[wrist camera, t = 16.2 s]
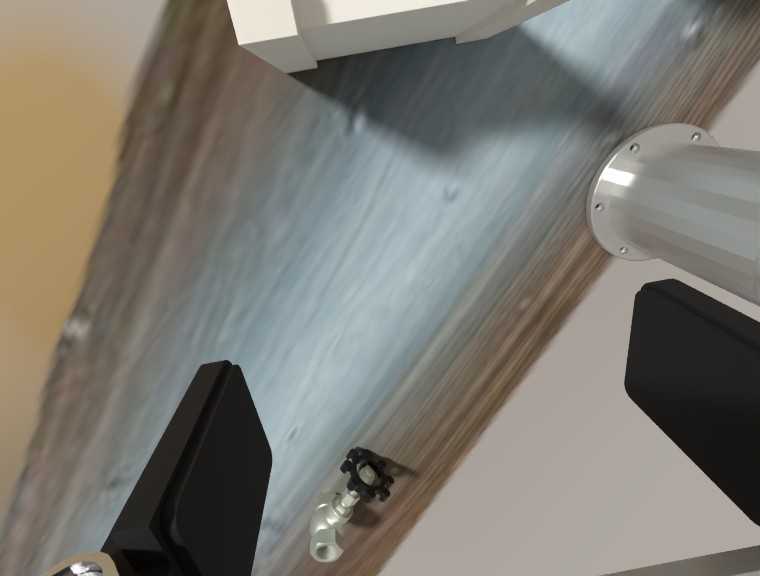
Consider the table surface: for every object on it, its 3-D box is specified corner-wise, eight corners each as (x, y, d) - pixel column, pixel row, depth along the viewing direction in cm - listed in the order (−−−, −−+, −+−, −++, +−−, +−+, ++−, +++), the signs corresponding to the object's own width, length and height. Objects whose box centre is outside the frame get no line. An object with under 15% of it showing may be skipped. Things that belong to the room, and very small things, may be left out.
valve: (342, 518, 53) (391, 458, 49) (343, 570, 47) (398, 506, 43) (297, 503, 51) (344, 439, 48) (291, 556, 45) (344, 487, 42)
